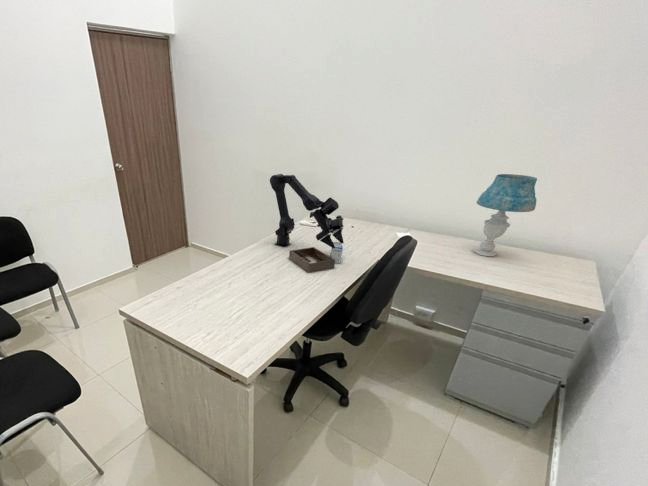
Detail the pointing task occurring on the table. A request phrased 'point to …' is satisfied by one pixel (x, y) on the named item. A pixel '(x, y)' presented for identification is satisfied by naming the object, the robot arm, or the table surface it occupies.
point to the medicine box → (337, 252)
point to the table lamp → (505, 205)
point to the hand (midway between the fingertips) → (338, 245)
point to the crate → (316, 254)
